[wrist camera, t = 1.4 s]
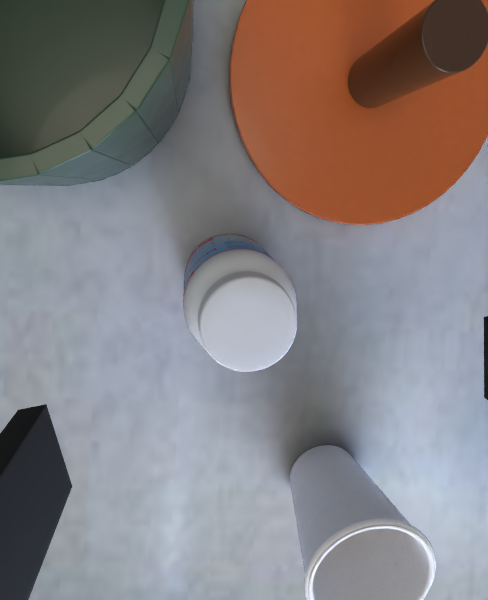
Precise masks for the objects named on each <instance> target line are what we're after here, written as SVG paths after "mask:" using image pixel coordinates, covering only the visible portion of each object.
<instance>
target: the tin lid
mask: <svg viewBox="0 0 488 600" xmlns="http://www.w3.org/2000/svg"><path fill="white" fill-rule="evenodd" d="M229 86H230V97H231V106H232V110H233V115H234V120H235V124H236V127H237V130H238V133H239V135H240V138H241V141H242V143H243V145H244V147H245V149H246V152H247V154H248V156H249V158H250V159H251V161H252V162H253V164H254V166H255V167H256V169H257V170H258V172H259V173H260V175H261V176H262V177H263V178H264V179H265V180H266V181H267V183H268V184H269V185H270V186H271V187H272V188H273V189H274V190H275V191H276V192H277V193H278V194H280V195H281V196H282V197H283V198H284V199H285V200H287V201H288V202H290V203H291V204H293V205H294V206H296V207H297V208H299V209H301V210H303V211H305V212H307V213H309V214H311V215H313V216H316V217H319V218H322V219H325V220H328V221H332V222H337V223H343V224H353V225H368V224H377V223H384V222H388V221H392V220H396V219H399V218H401V217H404V216H407V215H409V214H412V213H414V212H416V211H418V210H419V209H421V208H423V207H425V206H427V205H428V204H430V203H431V202H433V201H434V200H435V199H437V198H438V197H440V196H441V195H442V194H443V193H445V192H446V191H447V190H448V189H449V188H450V187H451V186H452V185H453V184H454V183H456V181H457V180H458V179H459V178H460V177H461V176H462V175H463V173H464V172H465V171H466V170H467V169H468V167H469V166H470V164H471V163H472V161H473V160H474V159H475V157H476V156H477V154H478V153H479V151H480V149H481V147H482V145H483V143H484V141H485V140H486V138H487V135H488V0H246V3H245V5H244V7H243V10H242V12H241V15H240V17H239V20H238V24H237V28H236V31H235V35H234V39H233V44H232V50H231V57H230V72H229Z"/></svg>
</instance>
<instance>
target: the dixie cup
mask: <svg viewBox="0 0 488 600" xmlns="http://www.w3.org/2000/svg"><path fill="white" fill-rule="evenodd" d="M290 485H291V491H292V497H293V503H294V509H295V516H296V522H297V528H298V534H299V540H300V546H301V553H302V559H303V565H304V571H305V578H304V593H305V597H306V600H423V599H424V598H425V596H426V595H427V593H428V591H429V589H430V587H431V585H432V582H433V579H434V575H435V569H436V560H435V554H434V551H433V548H432V546H431V544H430V542H429V540H428V539H427V538H426V536H425V535H424V534H423V533H422V532H421V531H419V530H418V529H417V528H415V527H414V526H412V525H411V524H410V523H409V522H408V521H407V520H406V519H405V517H404V516H403V515H402V514H401V513H400V512H399V511H398V509H397V508H396V507H395V506H394V505H393V504H392V502H391V501H390V500H389V499H388V498H387V497H386V496H385V494H384V493H383V492H382V491H381V490H380V489H379V487H378V486H377V485H376V484H375V483H374V482H373V481H372V479H371V478H370V477H369V476H368V475H367V474H366V472H365V471H364V470H363V469H362V468H361V466H360V465H359V464H358V463H357V462H356V461H355V460H354V459H353V458H352V456H351V455H350V454H349V453H348V452H347V451H345V450H344V449H342V448H340V447H337V446H332V445H322V446H317V447H314V448H312V449H310V450H308V451H306V452H305V453H303V454H302V455H301V456H300V457H299V458H298V459H297V460H296V462H295V463H294V465H293V467H292V469H291V473H290Z"/></svg>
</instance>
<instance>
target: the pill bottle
mask: <svg viewBox="0 0 488 600" xmlns="http://www.w3.org/2000/svg"><path fill="white" fill-rule="evenodd" d="M183 302H184V315H185V320H186V323H187V326H188V328H189V330H190V332H191V334H192V335H193V337H194V338H195V339H196V341H197V342H198V343H199V344H200V345H201V346H202V347H204V348H205V349H206V351H207V352H208V353H209V355H210V356H211V357H212V358H213V359H214V360H215V361H217V362H218V363H219V364H221V365H223V366H224V367H227V368H229V369H232V370H236V371H243V372H250V371H257V370H261V369H264V368H267V367H269V366H271V365H273V364H275V363H276V362H277V361H279V360H280V359H281V358H282V357H283V356H284V355H285V354H286V353H287V351H288V350H289V348H290V347H291V345H292V343H293V341H294V338H295V336H296V330H297V314H296V307H297V301H296V293H295V289H294V286H293V284H292V281H291V279H290V278H289V276H288V275H287V273H286V272H285V271H284V269H283V268H282V267H281V266H280V265H279V264H278V263H277V262H276V261H275V260H274V259H273V258H272V257H271V256H270V255H269V254H268V253H266V252H265V251H264V250H263V249H262V248H261V247H260V246H259V245H258V244H256V243H255V242H254V241H252V240H250V239H248V238H246V237H243V236H239V235H231V234H225V235H218V236H214V237H211V238H209V239H207V240H205V241H204V242H202V243H201V244H200V245H198V246H197V247H196V248H195V250H194V251H193V252H192V254H191V255H190V257H189V259H188V261H187V265H186V268H185V275H184V300H183Z"/></svg>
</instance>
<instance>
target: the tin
mask: <svg viewBox="0 0 488 600" xmlns="http://www.w3.org/2000/svg"><path fill="white" fill-rule="evenodd" d="M192 40H193V0H0V185H51V186H69V185H75V184H81V183H88V182H94V181H100V180H103V179H105V178H107V177H110V176H112V175H115V174H118V173H120V172H122V171H123V170H125V169H127V168H129V167H131V166H132V165H134V164H135V163H137V162H138V161H139V160H141V159H142V158H143V157H145V156H146V155H147V154H148V153H149V152H150V151H151V150H152V149H153V148H154V147H155V146H156V145H157V144H158V143H159V142H160V141H161V139H162V138H163V137H164V135H165V134H166V133H167V131H168V130H169V128H170V127H171V125H172V123H173V121H174V119H175V118H176V116H177V115H178V112H179V110H180V107H181V104H182V102H183V99H184V96H185V92H186V88H187V85H188V82H189V79H190V69H191V55H192Z"/></svg>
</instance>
